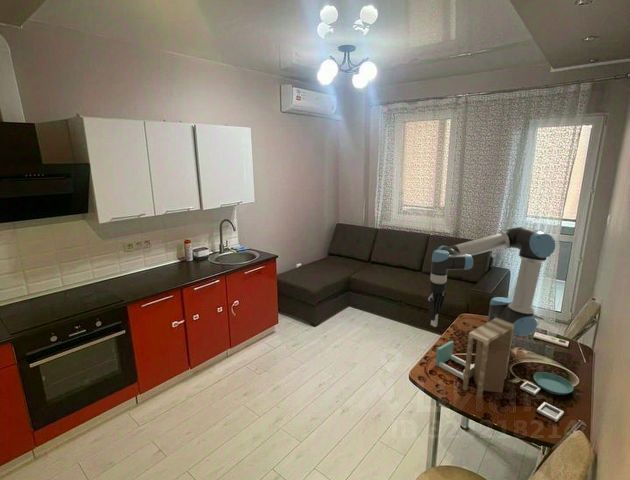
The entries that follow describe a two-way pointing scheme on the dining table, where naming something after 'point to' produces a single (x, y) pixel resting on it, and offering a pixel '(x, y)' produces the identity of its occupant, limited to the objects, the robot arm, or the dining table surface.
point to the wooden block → (491, 366)
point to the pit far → (550, 411)
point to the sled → (446, 353)
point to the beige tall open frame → (486, 334)
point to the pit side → (530, 388)
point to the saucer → (553, 383)
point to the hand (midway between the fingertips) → (433, 325)
